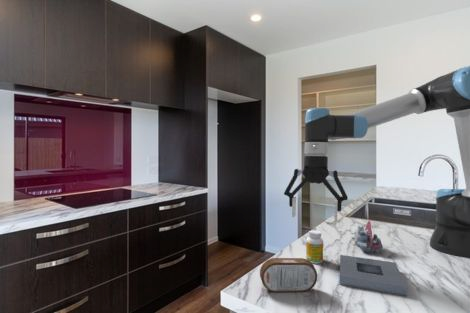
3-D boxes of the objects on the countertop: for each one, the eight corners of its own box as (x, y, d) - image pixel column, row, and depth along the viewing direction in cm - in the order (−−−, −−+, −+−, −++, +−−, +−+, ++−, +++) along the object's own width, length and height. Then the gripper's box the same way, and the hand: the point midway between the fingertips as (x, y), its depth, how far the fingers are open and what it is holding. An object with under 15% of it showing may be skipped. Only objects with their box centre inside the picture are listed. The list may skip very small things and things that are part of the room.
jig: (395, 270, 83) (395, 262, 83) (406, 296, 68) (407, 286, 68) (340, 262, 89) (340, 254, 89) (339, 284, 74) (339, 275, 74)
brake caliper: (393, 250, 94) (371, 221, 95) (366, 266, 96) (344, 238, 97) (383, 239, 105) (364, 214, 106) (359, 254, 107) (340, 229, 108)
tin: (314, 287, 73) (315, 256, 73) (318, 293, 70) (319, 261, 70) (259, 287, 72) (259, 257, 72) (261, 294, 69) (261, 261, 69)
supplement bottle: (311, 264, 87) (312, 235, 87) (303, 258, 92) (303, 230, 92) (326, 263, 88) (326, 233, 88) (317, 256, 94) (317, 229, 93)
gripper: (276, 154, 91) (275, 216, 91) (357, 156, 81) (355, 226, 82) (281, 154, 98) (279, 212, 98) (356, 156, 88) (354, 220, 89)
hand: (314, 218), depth 90 cm, fingers open, 13 cm apart
